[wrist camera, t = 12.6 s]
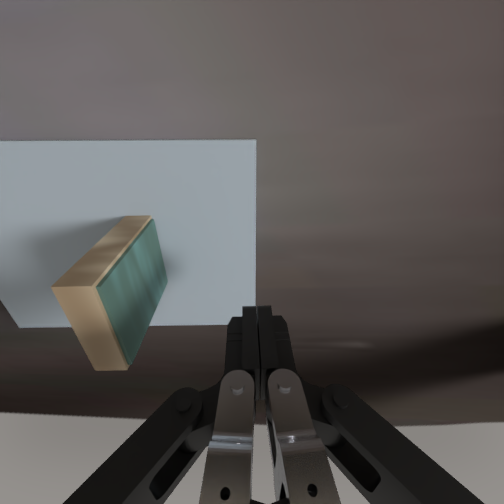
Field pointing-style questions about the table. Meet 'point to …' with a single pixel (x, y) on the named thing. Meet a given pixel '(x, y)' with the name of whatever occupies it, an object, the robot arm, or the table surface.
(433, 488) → the robot arm
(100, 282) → the tile
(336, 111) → the table surface
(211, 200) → the mat
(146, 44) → the table surface
